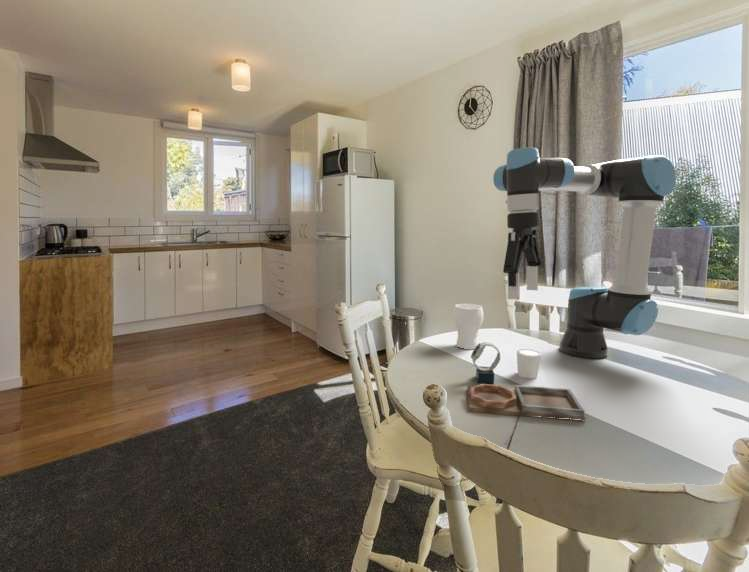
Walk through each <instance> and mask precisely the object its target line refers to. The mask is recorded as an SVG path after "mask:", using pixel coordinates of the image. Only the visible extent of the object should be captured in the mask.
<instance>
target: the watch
mask: <svg viewBox="0 0 749 572" xmlns="http://www.w3.org/2000/svg"><path fill="white" fill-rule="evenodd" d="M487 346H488V347H492V348H494V350H496V351H497V353H496V354H497V355H496V356H495V359H494V360H493V362H492V363H491V365H490V366H481V365H478V364H476V360H478V359H480V357H481V356H482V354H483V353H484V349H485V348H486V347H487ZM472 350H473V351H472V352H471V354H470V358H471V360H472V364H473V366H474V367H475V369H476V370H475V371H476V372H475V377H476V381H477V385H480V384H492V385H495V384H494V382H495V372H494V370H495V369H496V368H497V366H498V365H499V363H500V362H501V361H500V360H501V353H500V350H499V349H498V347H497V346H496V345H495V344H494V343H491V342H486V341H485V342H481V343H478V345H477V346H476V347H475V349H472ZM479 383H480V384H479Z"/></svg>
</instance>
